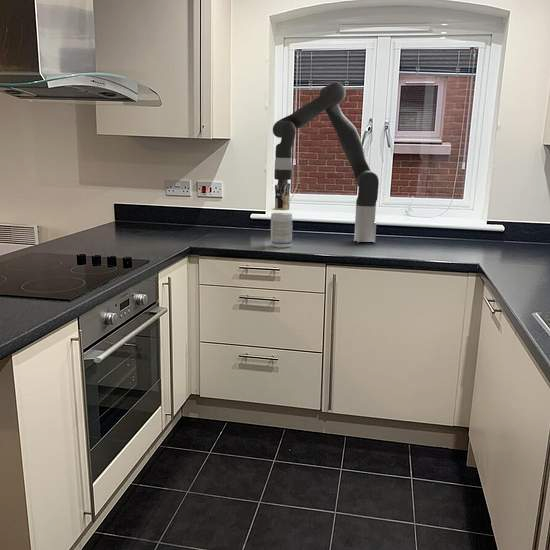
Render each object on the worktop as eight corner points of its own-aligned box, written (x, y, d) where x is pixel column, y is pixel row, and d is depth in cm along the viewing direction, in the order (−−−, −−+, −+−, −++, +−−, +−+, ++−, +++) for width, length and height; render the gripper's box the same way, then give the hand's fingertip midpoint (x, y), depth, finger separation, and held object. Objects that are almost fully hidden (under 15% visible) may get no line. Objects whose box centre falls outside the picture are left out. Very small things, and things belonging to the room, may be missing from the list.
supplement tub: (295, 247, 259) (296, 214, 256) (276, 248, 255) (277, 215, 252) (285, 243, 267) (286, 211, 264) (266, 245, 263) (267, 212, 260)
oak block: (278, 208, 261) (278, 195, 259) (289, 209, 259) (289, 195, 258) (274, 209, 256) (275, 196, 255) (285, 210, 254) (285, 196, 253)
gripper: (280, 167, 261) (279, 205, 265) (269, 168, 248) (268, 208, 252) (296, 168, 259) (295, 206, 263) (285, 169, 246) (284, 209, 249)
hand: (282, 207), depth 257 cm, fingers closed on oak block, 5 cm apart
